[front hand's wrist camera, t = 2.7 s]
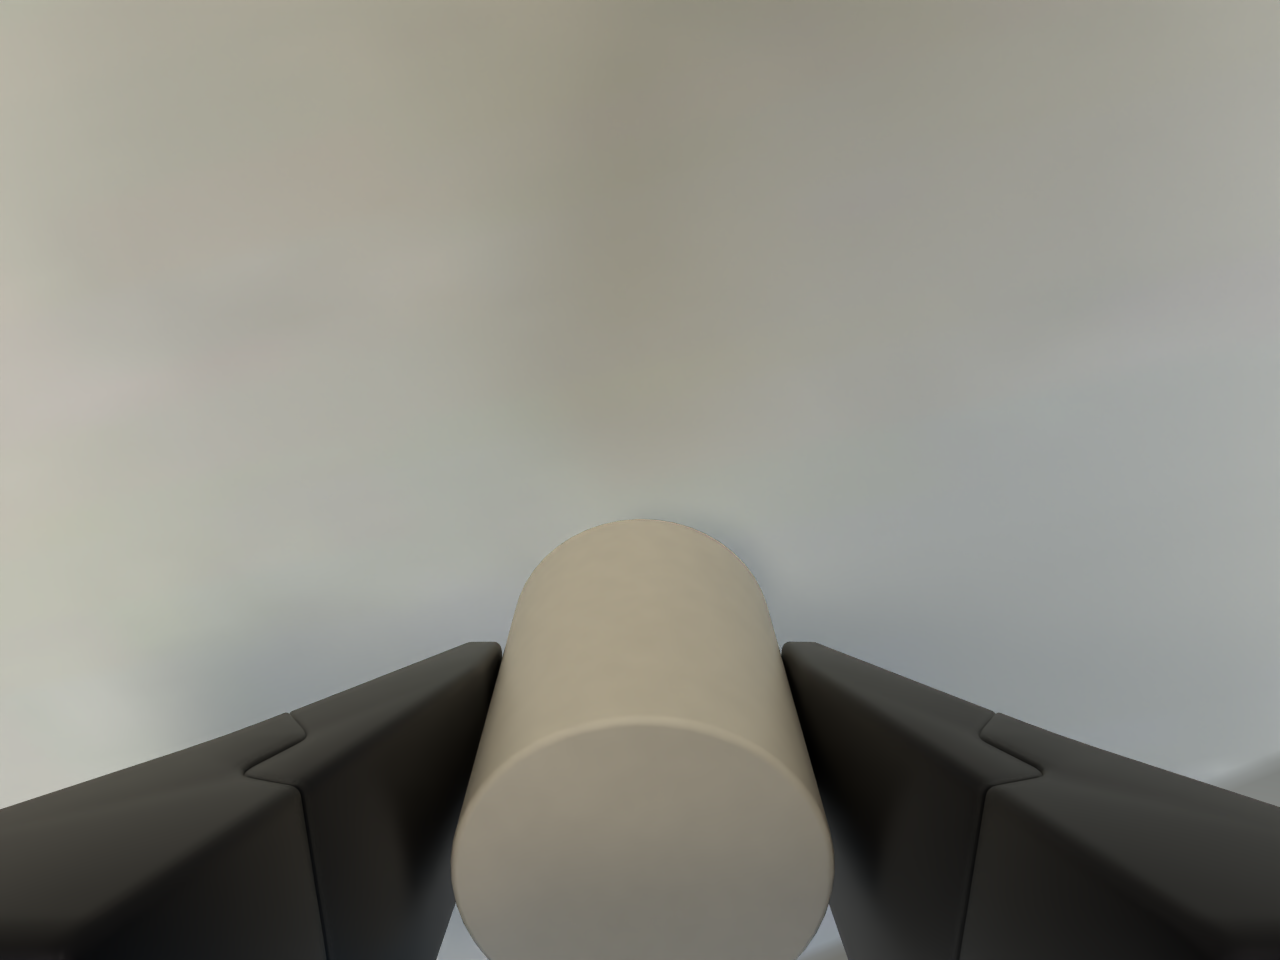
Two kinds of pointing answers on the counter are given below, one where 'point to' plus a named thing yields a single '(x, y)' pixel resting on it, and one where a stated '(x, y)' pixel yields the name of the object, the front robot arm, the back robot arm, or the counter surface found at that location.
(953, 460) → the counter surface
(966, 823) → the front robot arm
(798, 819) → the beige cylinder
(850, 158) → the counter surface
